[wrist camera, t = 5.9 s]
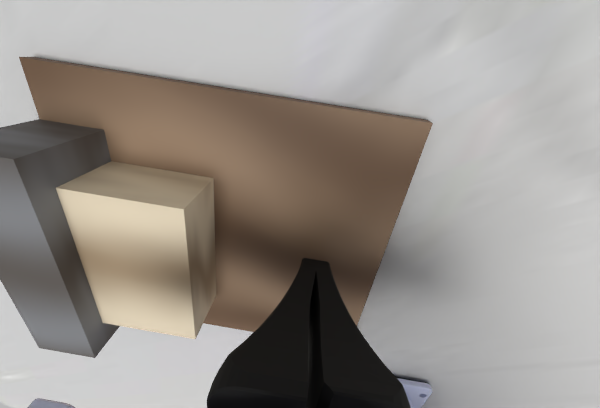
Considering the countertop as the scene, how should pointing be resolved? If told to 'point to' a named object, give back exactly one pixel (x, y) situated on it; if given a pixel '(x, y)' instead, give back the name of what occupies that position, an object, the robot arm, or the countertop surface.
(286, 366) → the robot arm
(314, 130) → the board
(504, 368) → the countertop surface
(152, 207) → the cream wooden block
